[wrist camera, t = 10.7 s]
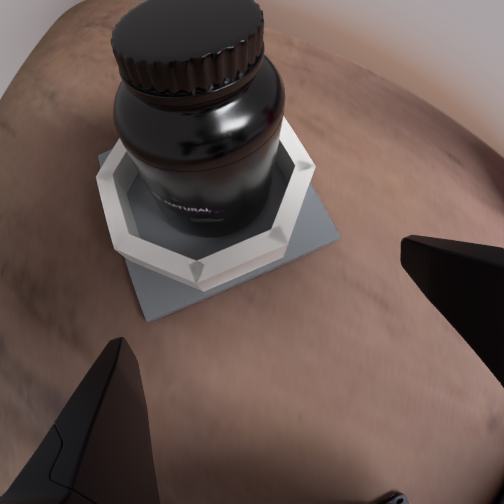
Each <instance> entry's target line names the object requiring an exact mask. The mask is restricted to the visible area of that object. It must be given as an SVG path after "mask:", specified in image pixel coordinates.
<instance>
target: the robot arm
mask: <svg viewBox="0 0 504 504" xmlns="http://www.w3.org/2000/svg"><path fill="white" fill-rule="evenodd" d="M400 261H401V265H402V267H403V268H404V269H405V271H406V272H407V273H408V274H409V276H410V277H411V278H412V280H413V281H414V282H415V283H416V285H417V286H418V287H419V289H420V290H421V291H422V292H423V294H424V295H425V296H426V297H427V299H428V300H429V301H430V302H431V303H432V304H433V305H434V306H435V307H436V308H437V310H438V311H439V312H440V313H441V314H442V315H443V316H444V317H445V318H446V319H447V321H448V322H449V323H450V324H451V325H452V326H453V327H454V328H455V329H456V331H457V332H458V333H459V334H460V335H461V336H462V337H463V339H464V340H465V341H466V342H467V343H468V344H469V346H470V347H471V348H472V349H473V350H474V351H475V353H476V354H477V355H478V356H479V357H480V359H481V360H482V361H483V362H484V363H485V365H486V366H487V367H488V368H489V370H490V371H491V372H492V373H493V375H494V376H495V377H496V378H497V380H498V381H499V382H500V383H501V385H502V386H503V388H504V249H503V248H501V247H495V246H488V245H482V244H475V243H468V242H462V241H455V240H448V239H440V238H433V237H426V236H418V235H410V236H407V237H405V238H403V239H402V241H401V257H400ZM400 498H401V499H400ZM398 499H400V501H398V502H397V500H398ZM0 504H160V499H159V494H158V488H157V482H156V476H155V469H154V462H153V455H152V447H151V439H150V431H149V421H148V412H147V406H146V400H145V396H144V391H143V386H142V381H141V376H140V370H139V365H138V361H137V359H136V357H135V355H134V353H133V351H132V350H131V348H130V346H129V345H128V343H127V341H126V340H125V339H124V338H123V337H120V338H116V339H113V340H110V341H109V343H108V344H107V345H106V347H105V348H104V350H103V351H102V352H101V354H100V355H99V357H98V358H97V360H96V361H95V362H94V364H93V365H92V367H91V368H90V370H89V371H88V373H87V374H86V375H85V377H84V378H83V380H82V381H81V383H80V384H79V386H78V387H77V389H76V390H75V392H74V393H73V395H72V396H71V398H70V399H69V401H68V402H67V404H66V405H65V407H64V408H63V410H62V411H61V413H60V414H59V416H58V418H57V419H56V421H55V424H53V425H52V427H51V428H50V430H49V432H48V433H47V435H46V436H45V438H44V439H43V441H42V442H41V444H40V445H39V447H38V448H37V450H36V451H35V453H34V454H33V455H32V457H31V458H30V460H29V461H28V462H27V464H26V465H25V466H24V468H23V469H22V471H21V472H20V473H19V475H18V476H17V477H16V479H15V480H14V482H13V483H12V484H11V486H10V487H9V489H8V490H7V491H6V492H5V493H4V494H3V495H2V496H1V497H0ZM380 504H409V502H408V500H407V497H406V496H405V495H404V494H403V493H397V494H395V495H394V496H392V497H390V498H389V499H387V500H385V501H383V502H382V503H380Z"/></svg>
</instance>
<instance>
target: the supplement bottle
mask: <svg viewBox="0 0 504 504" xmlns="http://www.w3.org/2000/svg"><path fill="white" fill-rule="evenodd" d="M263 34H264V19H263V11H262V10H261V9H260V7H259V4H257V3H255V2H254V0H147V1H145V2H143V3H140V4H139V5H137V6H136V7H135V8H133V9H131V10H129V12H128V13H127V14H126V15H124V16H123V17H121V20H120V21H119V22H118V23H117V24H116V25H115V29H114V30H113V31H112V38H111V45H112V49H113V53H114V56H115V58H116V61H117V63H118V66H119V73H120V76H121V79H122V81H121V83H120V85H119V87H118V90H117V92H116V96H115V100H114V106H113V119H114V125H115V128H116V131H117V133H118V135H119V138H120V140H121V142H122V144H123V145H124V147H125V149H126V151H127V153H128V154H129V156H130V158H131V160H132V162H133V163H134V165H135V167H136V169H137V170H138V172H139V174H140V176H141V177H142V179H143V181H144V183H145V184H146V186H147V188H148V190H149V191H150V193H151V195H152V196H153V198H154V200H155V201H156V203H157V205H158V206H159V208H160V210H161V211H162V213H163V214H164V215H165V217H166V218H167V219H168V220H169V221H170V222H171V223H172V224H173V225H174V226H175V227H177V228H178V229H180V230H181V231H183V232H185V233H188V234H190V235H193V236H198V237H204V238H218V237H224V236H228V235H231V234H234V233H236V232H238V231H240V230H242V229H244V228H245V227H247V226H248V225H249V224H251V223H252V222H253V221H254V220H255V219H256V218H257V217H258V216H259V214H260V213H261V212H262V210H263V208H264V207H265V205H266V202H267V200H268V197H269V193H270V189H271V184H272V179H273V173H274V167H275V161H276V156H277V150H278V144H279V138H280V132H281V126H282V121H283V115H284V107H285V89H284V84H283V81H282V78H281V76H280V74H279V72H278V70H277V69H276V67H275V66H274V64H273V63H272V62H271V61H270V59H269V58H268V57H267V56H266V55H264V41H263Z"/></svg>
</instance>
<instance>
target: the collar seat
mask: <svg viewBox="0 0 504 504" xmlns="http://www.w3.org/2000/svg"><path fill="white" fill-rule="evenodd" d="M98 159H99V163H100V168H101V169H100V171H99V172H98V174H97V176H96V179H97V184H98V188H99V192H100V197H101V201H102V205H103V209H104V213H105V217H106V221H107V225H108V228H109V232H110V236H111V239H112V243H113V246H114V249H115V250H116V251H117V252H118V253H120V254H121V255H122V256H124V258H125V261H126V264H127V267H128V270H129V273H130V276H131V279H132V282H133V285H134V288H135V291H136V294H137V297H138V300H139V303H140V305H141V308H142V311H143V314H144V316H145V319H146V322H152V321H154V320H157V319H159V318H162V317H164V316H166V315H169V314H171V313H174V312H176V311H178V310H181V309H183V308H185V307H188V306H190V305H193V304H195V303H197V302H200V301H202V300H204V299H207V298H209V297H211V296H214V295H216V294H218V293H221V292H223V291H225V290H228V289H230V288H232V287H235V286H237V285H239V284H241V283H244V282H246V281H248V280H251V279H253V278H255V277H257V276H260V275H262V274H264V273H267V272H269V271H271V270H273V269H276V268H278V267H280V266H282V265H285V264H287V263H289V262H291V261H294V260H296V259H298V258H300V257H303V256H305V255H307V254H309V253H311V252H314V251H316V250H318V249H320V248H322V247H325V246H327V245H329V244H331V243H333V242H336V241H338V240H339V239H340V235H339V233H338V231H337V229H336V227H335V226H334V224H333V222H332V220H331V218H330V216H329V215H328V213H327V211H326V209H325V207H324V205H323V204H322V202H321V200H320V198H319V197H318V195H317V193H316V191H315V190H314V188H313V186H312V184H311V183H310V181H311V178H312V175H313V173H314V170H315V167H316V166H315V165H314V163H313V161H312V160H311V158H310V157H309V155H308V153H307V152H306V150H305V149H304V147H303V145H302V144H301V142H300V141H299V139H298V137H297V136H296V134H295V133H294V131H293V130H292V128H291V127H290V125H289V124H288V122H287V121H286V119H285V118H284V116H283V121H282V126H281V132H280V138H279V144H278V150H277V156H276V161H275V167H274V173H273V179H272V184H271V189H270V193H269V197H268V200H267V202H266V205H265V207H264V208H263V210H262V212H261V213H260V214H259V216H258V217H257V218H256V219H255V220H254V221H253V222H252V223H251V224H249V225H248V226H247V227H245V228H244V229H242V230H240V231H238V232H236V233H234V234H231V235H228V236H224V237H218V238H204V237H198V236H193V235H190V234H188V233H185V232H183V231H181V230H180V229H178V228H177V227H175V226H174V225H173V224H172V223H171V222H170V221H169V220H168V219H167V218H166V217H165V215H164V214H163V213H162V211H161V210H160V208H159V206H158V205H157V203H156V201H155V200H154V198H153V196H152V195H151V193H150V191H149V190H148V188H147V186H146V184H145V183H144V181H143V179H142V177H141V176H140V174H139V172H138V170H137V169H136V167H135V165H134V163H133V162H132V160H131V158H130V156H129V154H128V153H127V151H126V149H125V147H124V145H123V144H122V142H121V140H120V138H119V140H118V141H117V143H116V144H115V146H114V148H112V149H110V150H108V151H106V152H104V153H102V154H100V155H98Z"/></svg>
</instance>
